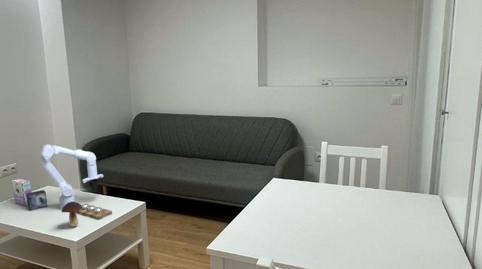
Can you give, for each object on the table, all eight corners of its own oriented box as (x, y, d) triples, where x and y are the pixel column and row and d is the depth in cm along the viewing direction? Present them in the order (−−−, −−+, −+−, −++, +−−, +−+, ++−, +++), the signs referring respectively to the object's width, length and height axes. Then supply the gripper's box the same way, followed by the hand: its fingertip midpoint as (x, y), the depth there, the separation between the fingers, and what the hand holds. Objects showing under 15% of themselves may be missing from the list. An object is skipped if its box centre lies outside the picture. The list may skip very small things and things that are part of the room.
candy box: (34, 203, 241) (30, 180, 238) (25, 206, 236) (21, 183, 233) (23, 200, 248) (20, 177, 245) (14, 203, 243) (11, 180, 240)
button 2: (93, 215, 217) (92, 209, 216) (99, 213, 220) (98, 206, 220) (97, 216, 215) (97, 210, 214) (103, 214, 218) (103, 207, 217)
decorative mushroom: (59, 229, 199) (56, 204, 196) (75, 221, 209) (72, 197, 206) (73, 232, 195) (70, 206, 192) (89, 224, 204) (86, 199, 202)
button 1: (80, 211, 224) (79, 205, 223) (86, 209, 227) (85, 203, 226) (84, 213, 221) (83, 206, 221) (90, 210, 225) (90, 204, 224)
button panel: (72, 212, 223) (71, 209, 223) (86, 206, 232) (85, 203, 231) (98, 219, 210) (98, 216, 210) (112, 214, 218) (111, 210, 218)
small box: (29, 211, 227) (27, 195, 226) (27, 208, 232) (25, 193, 230) (47, 206, 234) (45, 191, 232) (45, 204, 239) (43, 189, 237)
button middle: (86, 213, 220) (85, 207, 219) (92, 211, 224) (92, 204, 223) (91, 214, 218) (90, 208, 217) (97, 212, 222) (96, 206, 221)
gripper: (86, 174, 225) (88, 194, 228) (105, 168, 237) (107, 187, 240) (79, 172, 229) (81, 192, 231) (98, 167, 241) (100, 186, 243)
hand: (94, 190), depth 236 cm, fingers closed
